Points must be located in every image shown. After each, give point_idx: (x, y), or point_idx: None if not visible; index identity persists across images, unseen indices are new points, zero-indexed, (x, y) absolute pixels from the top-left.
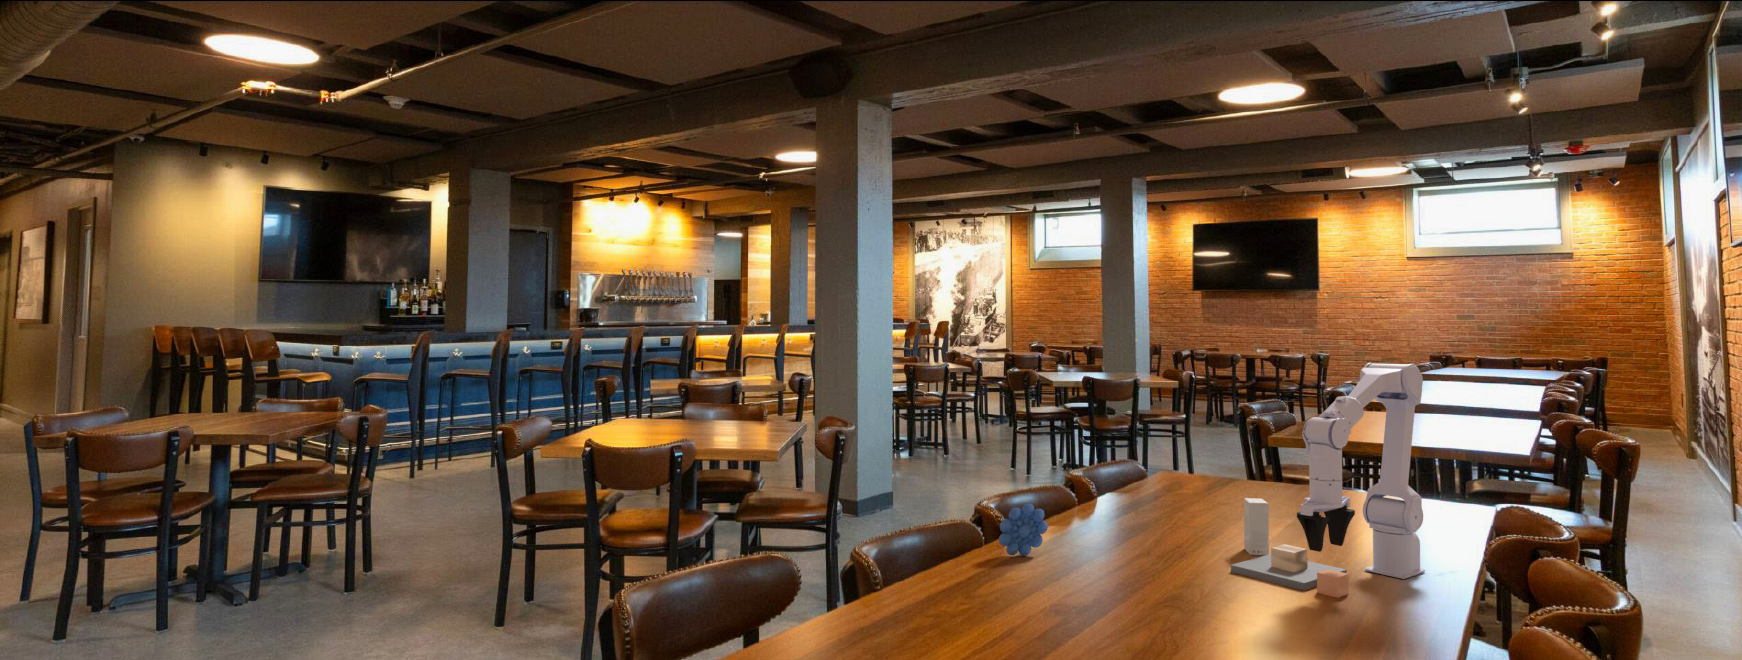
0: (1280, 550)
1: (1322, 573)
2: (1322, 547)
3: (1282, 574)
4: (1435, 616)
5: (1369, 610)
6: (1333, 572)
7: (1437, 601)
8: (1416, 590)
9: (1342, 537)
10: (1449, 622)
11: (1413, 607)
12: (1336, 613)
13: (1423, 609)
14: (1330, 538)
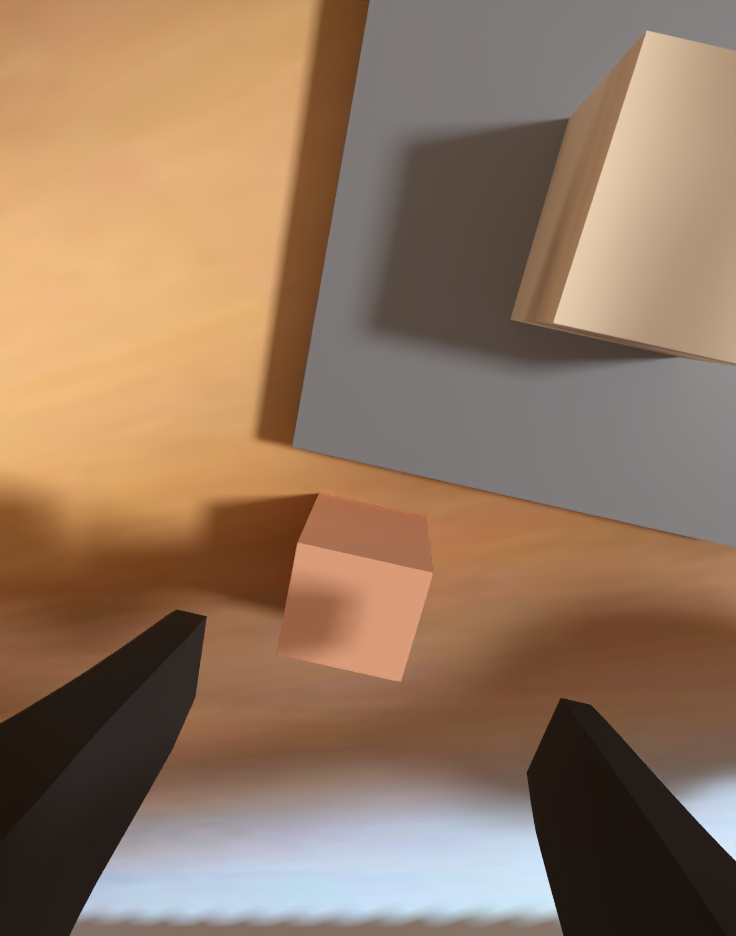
0: (604, 163)
1: (301, 572)
2: (176, 737)
3: (395, 273)
4: (314, 868)
5: (211, 711)
6: (370, 615)
7: (522, 859)
8: None
9: (550, 878)
10: (277, 898)
11: (376, 812)
12: (66, 630)
13: (374, 837)
14: (580, 745)
